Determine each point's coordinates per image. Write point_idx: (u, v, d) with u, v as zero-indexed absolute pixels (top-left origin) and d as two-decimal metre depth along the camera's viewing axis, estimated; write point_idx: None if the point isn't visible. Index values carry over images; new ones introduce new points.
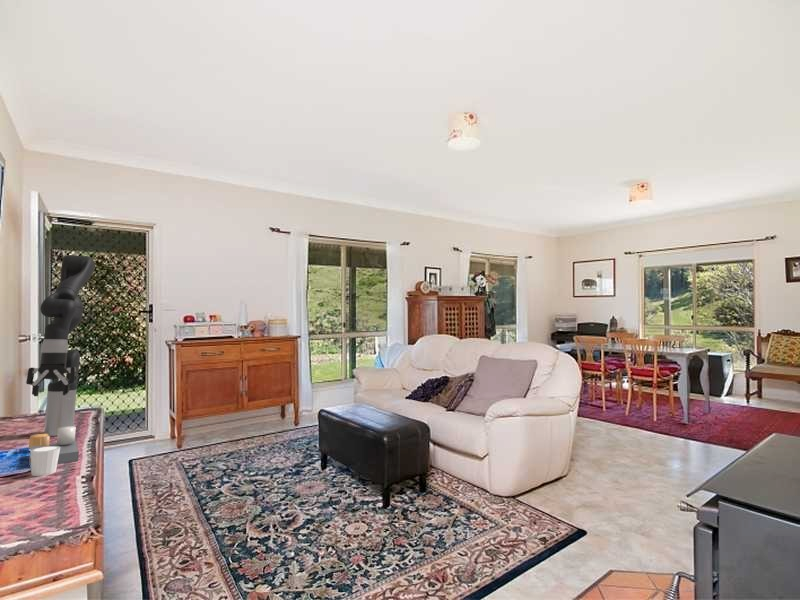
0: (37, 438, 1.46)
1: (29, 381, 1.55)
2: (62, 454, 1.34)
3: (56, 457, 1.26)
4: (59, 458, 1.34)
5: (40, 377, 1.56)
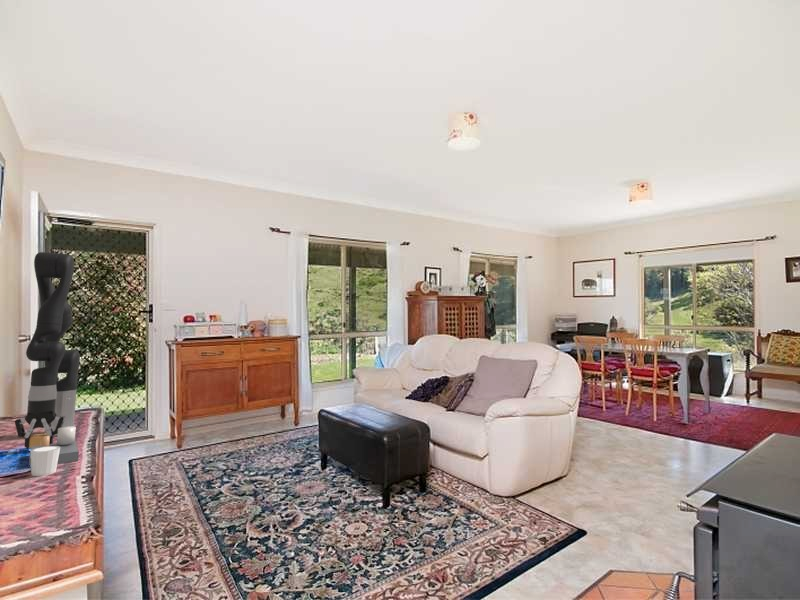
0: (37, 438, 1.46)
1: (20, 433, 1.45)
2: (62, 454, 1.34)
3: (56, 457, 1.26)
4: (59, 458, 1.34)
5: (30, 428, 1.46)
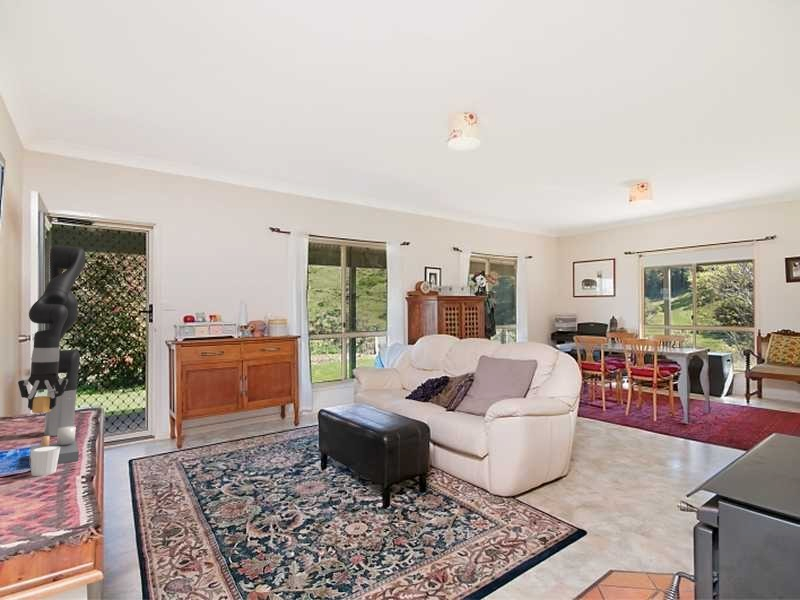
0: (40, 399, 1.47)
1: (24, 394, 1.46)
2: (62, 454, 1.34)
3: (56, 457, 1.26)
4: (59, 458, 1.34)
5: (33, 389, 1.47)
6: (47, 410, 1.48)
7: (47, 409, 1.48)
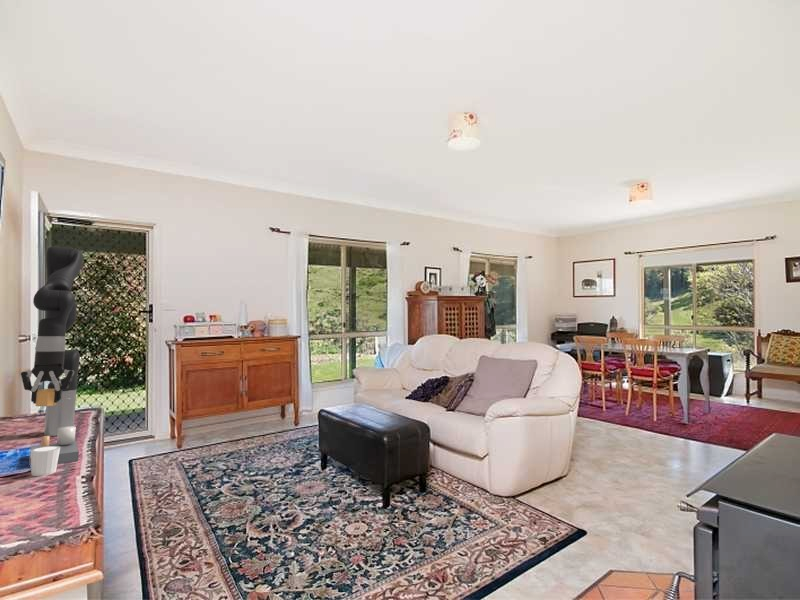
0: (45, 392, 1.36)
1: (27, 386, 1.36)
2: (62, 454, 1.34)
3: (56, 457, 1.26)
4: (59, 458, 1.34)
5: (37, 381, 1.36)
6: (52, 403, 1.38)
7: (52, 402, 1.38)
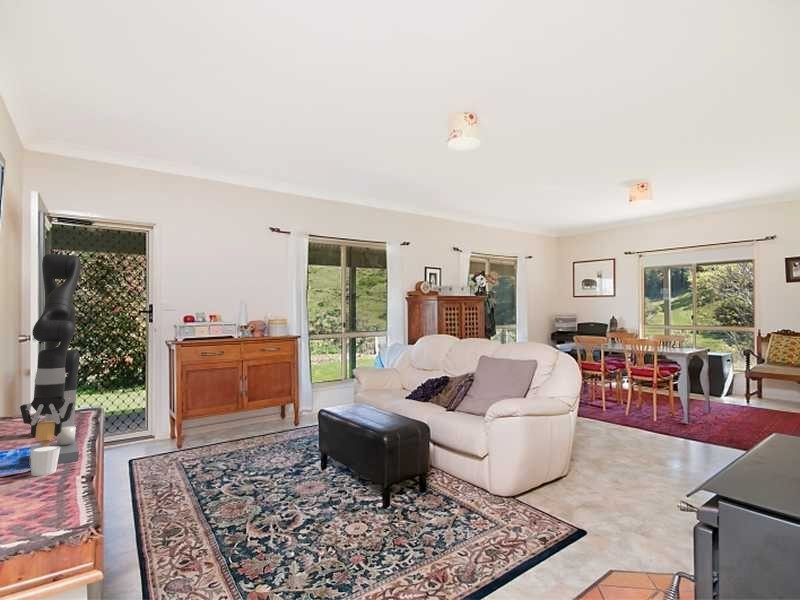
0: (44, 425, 1.34)
1: (26, 420, 1.33)
2: (62, 454, 1.34)
3: (56, 457, 1.26)
4: (59, 458, 1.34)
5: (36, 414, 1.33)
6: (52, 437, 1.35)
7: (52, 436, 1.35)
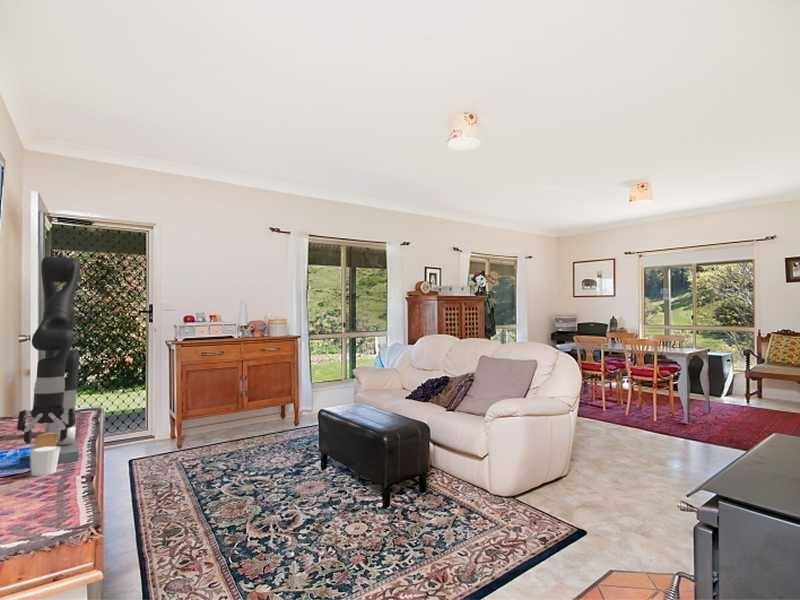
0: (44, 438, 1.33)
1: (20, 427, 1.32)
2: (62, 454, 1.34)
3: (56, 457, 1.26)
4: (59, 458, 1.34)
5: (33, 422, 1.33)
6: None
7: None
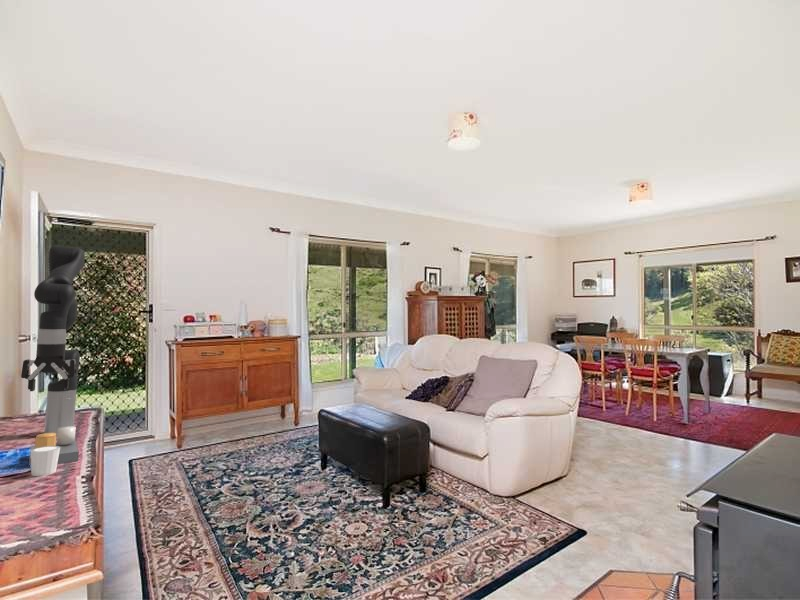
0: (44, 438, 1.33)
1: (24, 375, 1.40)
2: (62, 454, 1.34)
3: (56, 457, 1.26)
4: (59, 458, 1.34)
5: (36, 371, 1.41)
6: None
7: None
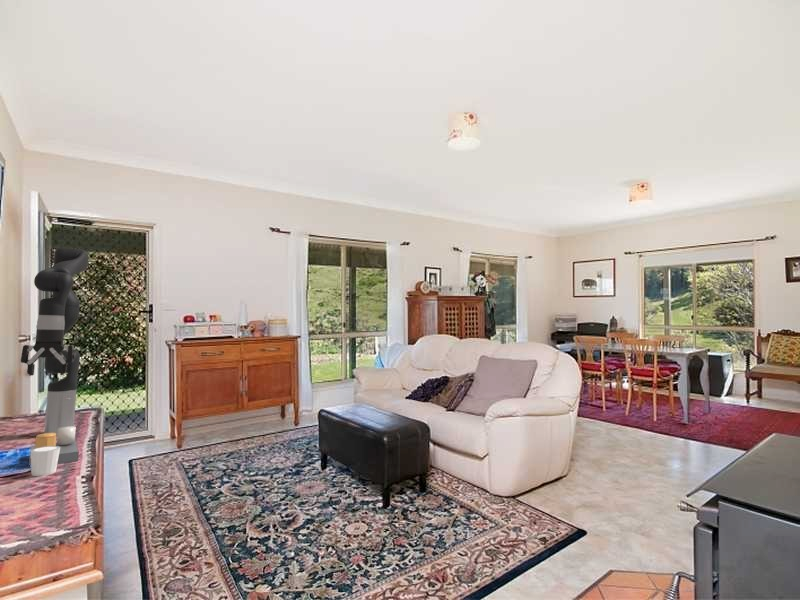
0: (44, 438, 1.33)
1: (24, 359, 1.44)
2: (62, 454, 1.34)
3: (56, 457, 1.26)
4: (59, 458, 1.34)
5: (35, 355, 1.45)
6: None
7: None
